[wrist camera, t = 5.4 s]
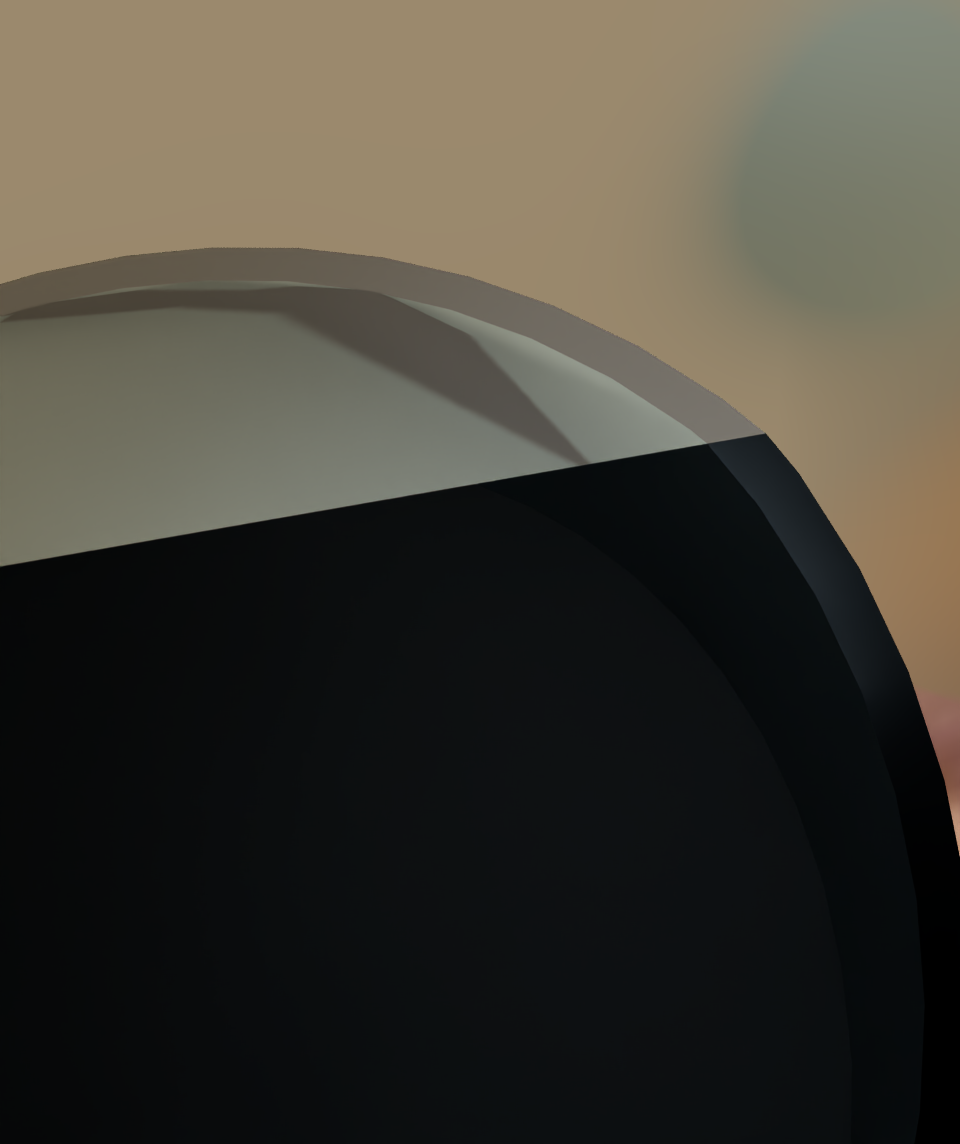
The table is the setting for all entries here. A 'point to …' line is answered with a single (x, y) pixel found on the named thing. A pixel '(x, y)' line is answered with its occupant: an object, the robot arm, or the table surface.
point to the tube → (439, 735)
